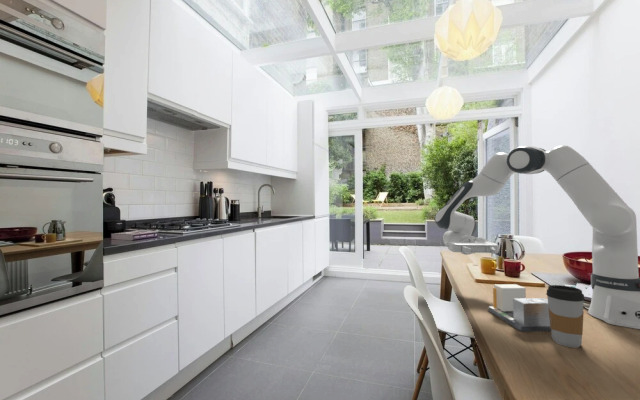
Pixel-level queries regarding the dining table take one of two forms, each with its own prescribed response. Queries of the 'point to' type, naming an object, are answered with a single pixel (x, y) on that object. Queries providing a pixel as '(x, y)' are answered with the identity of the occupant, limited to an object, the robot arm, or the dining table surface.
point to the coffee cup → (566, 314)
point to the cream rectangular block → (507, 295)
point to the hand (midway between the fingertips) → (483, 251)
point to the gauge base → (526, 314)
